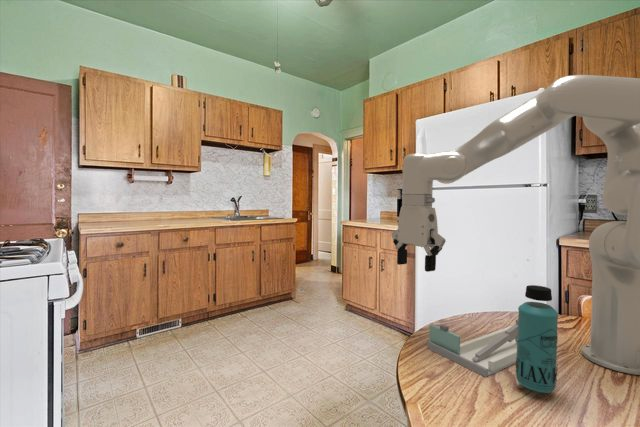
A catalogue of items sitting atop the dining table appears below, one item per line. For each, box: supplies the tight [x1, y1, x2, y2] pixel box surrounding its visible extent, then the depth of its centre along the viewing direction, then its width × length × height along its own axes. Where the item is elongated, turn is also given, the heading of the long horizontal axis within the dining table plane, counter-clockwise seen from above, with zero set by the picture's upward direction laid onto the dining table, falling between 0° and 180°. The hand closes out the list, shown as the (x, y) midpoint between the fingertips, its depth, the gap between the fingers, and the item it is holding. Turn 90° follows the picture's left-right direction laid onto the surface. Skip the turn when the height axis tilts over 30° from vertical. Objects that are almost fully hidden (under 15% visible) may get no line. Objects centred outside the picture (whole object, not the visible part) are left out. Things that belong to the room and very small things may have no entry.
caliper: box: [472, 319, 518, 362], centre depth 74 cm, size 20×1×6 cm, turn 121°
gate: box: [428, 323, 461, 356], centre depth 75 cm, size 8×1×6 cm, turn 30°
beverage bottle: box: [515, 284, 559, 394], centre depth 59 cm, size 6×7×20 cm
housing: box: [426, 325, 517, 378], centre depth 78 cm, size 15×26×2 cm, turn 120°
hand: (415, 267), depth 83 cm, fingers open, 9 cm apart
